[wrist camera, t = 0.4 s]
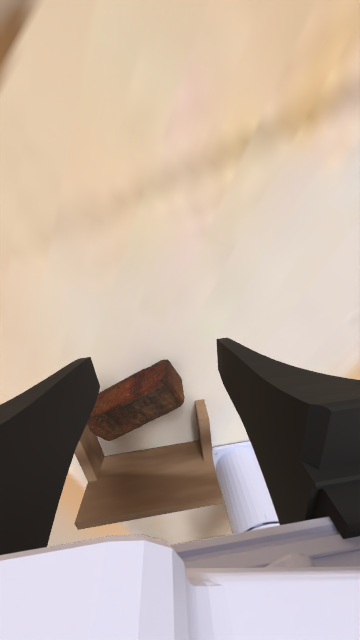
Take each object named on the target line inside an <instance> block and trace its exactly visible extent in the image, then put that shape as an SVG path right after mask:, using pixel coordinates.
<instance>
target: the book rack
mask: <svg viewBox="0 0 360 640" xmlns="http://www.w3.org/2000/svg"><path fill="white" fill-rule="evenodd" d="M195 405H196V413H197V421H198V428H199V436H200V440H199V441H193V442H187V443H181V444H175V445H170V446H164V447H158V448H152V449H146V450H140V451H134V452H129V453H123V454H117V455H111V456H105V457H104V455H103V452H102V450H101V447H100V444H99V442H98V439H97V437H96V435H95V434H93V433H92V432H91V431H90V429H89V427H88V425H87V424H86V427H85V429H84V431H83V433H82V436H81V438H80V440H79V442H78V445H77V447H76V450H75V452H74V453H75V455H76V457H77V459H78V461H79V464H80V466H81V468H82V470H83V472H84V474H85V476H86V478H87V480H88V484H87V487H86V490H85V493H84V497H83V499H82V502H81V506H80V509H79V512H78V515H77V518H76V521H75V525H76V527H77V529H85V528H90V527H96V526H101V525H106V524H112V523H117V522H123V521H128V520H134V519H139V518H145V517H150V516H156V515H161V514H167V513H172V512H178V511H183V510H189V509H194V508H200V507H205V506H211V505H216V504H222V496H221V491H220V487H219V483H218V479H217V474H216V470H215V466H214V462H213V454H212V444H211V434H210V424H209V417H208V413H207V409H206V406H205V402H204V400H198V401H195Z"/></svg>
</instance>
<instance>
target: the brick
mask: <svg viewBox="0 0 360 640" xmlns="http://www.w3.org/2000/svg"><path fill="white" fill-rule="evenodd" d="M183 402H184V394H183V386H182V379H181V377H180V376H179V374H178V373H177V372H176V370H175V369H174V367H173V366H172V364H171V363H170V362H169V361H168V360H161V361H159V362H157V363H156V364H154V365H152V366H151V367H148V368H146V369H142V370H141V371H139V372H137V373H135V374H134V375H131V376H130V377H128V378H126V379H124V380H122V381H120V382H119V383H117V384H115V385H113V386H111V387H109V388H108V389H106V390H104V391H102V392H100V393H99V394H98V397H97V400H96V403H95V406H94V408H93V410H92V413H91V415H90V417H89V420H88V422H87V425H88V427H89V429H90V431H91V432H92V433H93V434H95V435H97V436H99V437H101V438H103V439H104V440H107V441H111V440H114V439H116V438H118V437H120V436H122V435H124V434H126V433H128V432H130V431H132V430H134V429H136V428H138V427H140V426H142V425H143V424H146V423H148V422H150V421H152V420H154V419H156V418H158V417H160V416H163V415H165V414H167V413H169V412H170V411H172V410H175V409H176V408H178V407H180V406H181V405H182V404H183Z"/></svg>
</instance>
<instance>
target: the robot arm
mask: <svg viewBox="0 0 360 640" xmlns="http://www.w3.org/2000/svg"><path fill="white" fill-rule="evenodd" d="M217 355H218V370H219V373H220V376H221V379H222V382H223V384H224V386H225V388H226V390H227V392H228V394H229V396H230V398H231V400H232V402H233V404H234V406H235V408H236V410H237V412H238V414H239V416H240V418H241V420H242V422H243V424H244V427H245V429H246V432H247V434H248V437H249V439H250V441H247V442H241V443H236V444H230V445H224V446H218V447H213V448H212V454H213V462H214V466H215V470H216V474H217V479H218V483H219V487H220V489H221V490H222V494H223V498H224V502H225V506H226V510H227V514H228V518H229V523H230V527H231V531H232V534H229V535H223V536H218V537H212V538H206V539H201V540H195V541H190V542H184V543H179V544H173V545H169V544H168V543H167V542H166V541H162V540H159V539H156V538H152V537H149V536H146V535H119V536H118V535H115V536H107V537H101V538H96V539H90V540H84V541H78V542H73V543H68V544H61V545H56V546H50V547H47V545H48V540H49V536H50V532H51V529H52V525H53V521H54V518H55V514H56V510H57V507H58V503H59V499H60V496H61V493H62V490H63V486H64V483H65V479H66V476H67V473H68V470H69V467H70V464H71V461H72V458H73V455H74V452H75V450H76V447H77V445H78V442H79V440H80V438H81V436H82V433H83V431H84V429H85V427H86V424H87V422H88V420H89V417H90V415H91V413H92V410H93V408H94V406H95V403H96V400H97V397H98V393H99V389H100V385H99V382H98V379H97V376H96V373H95V370H94V367H93V363H92V360H91V357H87V358H80V359H78V360H76V361H74V362H72V363H70V364H69V365H67V366H65V367H64V368H62V369H61V370H59V371H57V372H56V373H54V374H53V375H51V376H50V377H48V378H46V379H45V380H43V381H42V382H40V383H38V384H37V385H35V386H33V387H32V388H30V389H28V390H27V391H25V392H23V393H22V394H20V395H18V396H16V397H14V398H13V399H11V400H9V401H7V402H5V403H3V404H1V405H0V640H360V380H355V379H348V378H342V377H337V376H331V375H326V374H322V373H317V372H313V371H309V370H305V369H301V368H298V367H294V366H291V365H288V364H285V363H282V362H279V361H276V360H274V359H271V358H269V357H266V356H264V355H262V354H259V353H257V352H255V351H253V350H251V349H249V348H247V347H245V346H243V345H241V344H239V343H237V342H235V341H233V340H231V339H229V338H222V339H217Z"/></svg>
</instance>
